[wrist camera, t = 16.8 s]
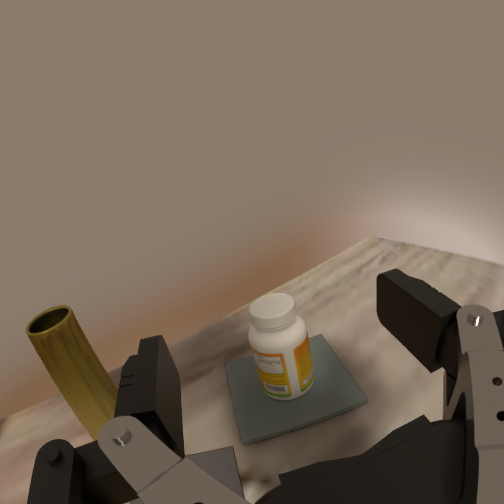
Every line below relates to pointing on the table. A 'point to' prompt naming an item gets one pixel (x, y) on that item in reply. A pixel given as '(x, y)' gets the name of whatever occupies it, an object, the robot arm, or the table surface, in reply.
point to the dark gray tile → (216, 469)
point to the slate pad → (295, 410)
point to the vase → (74, 367)
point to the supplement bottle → (280, 347)
